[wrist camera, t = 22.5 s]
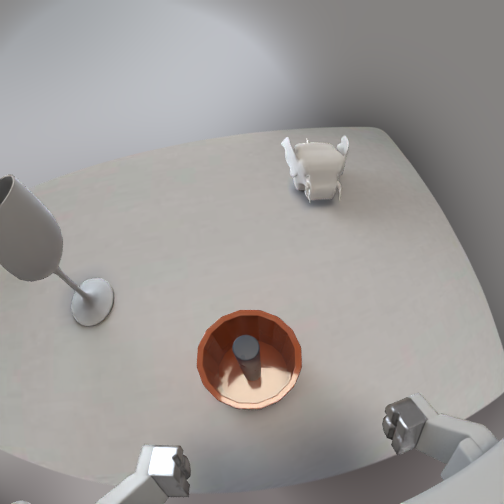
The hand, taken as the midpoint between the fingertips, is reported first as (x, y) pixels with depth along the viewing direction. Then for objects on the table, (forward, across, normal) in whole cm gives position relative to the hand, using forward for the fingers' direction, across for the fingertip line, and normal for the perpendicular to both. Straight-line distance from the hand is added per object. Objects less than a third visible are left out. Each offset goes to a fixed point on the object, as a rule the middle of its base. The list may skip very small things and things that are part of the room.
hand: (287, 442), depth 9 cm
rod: (+18, +1, +10) cm, 20 cm away
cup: (+18, +1, +10) cm, 21 cm away
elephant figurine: (+36, -12, -8) cm, 39 cm away
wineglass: (+26, +22, +2) cm, 34 cm away
